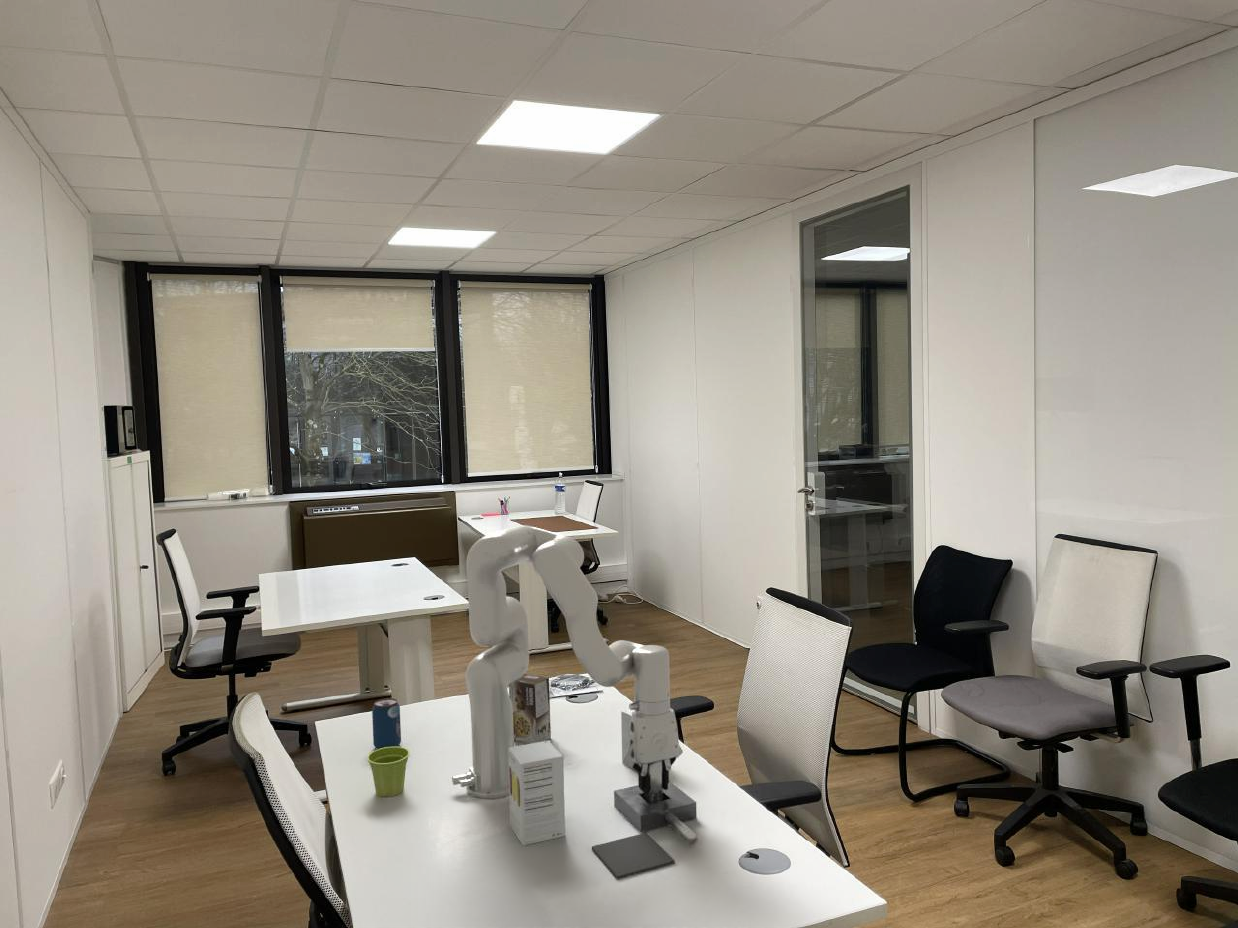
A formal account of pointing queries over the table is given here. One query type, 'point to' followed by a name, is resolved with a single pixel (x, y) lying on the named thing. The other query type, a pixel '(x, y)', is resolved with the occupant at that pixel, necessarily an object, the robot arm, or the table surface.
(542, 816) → the supplement box
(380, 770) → the plant pot
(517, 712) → the coffee box
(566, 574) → the robot arm
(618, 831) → the table surface
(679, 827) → the block
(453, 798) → the table surface
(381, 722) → the soda can
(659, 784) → the gold capped metal cylinder
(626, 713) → the small box
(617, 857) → the pad
